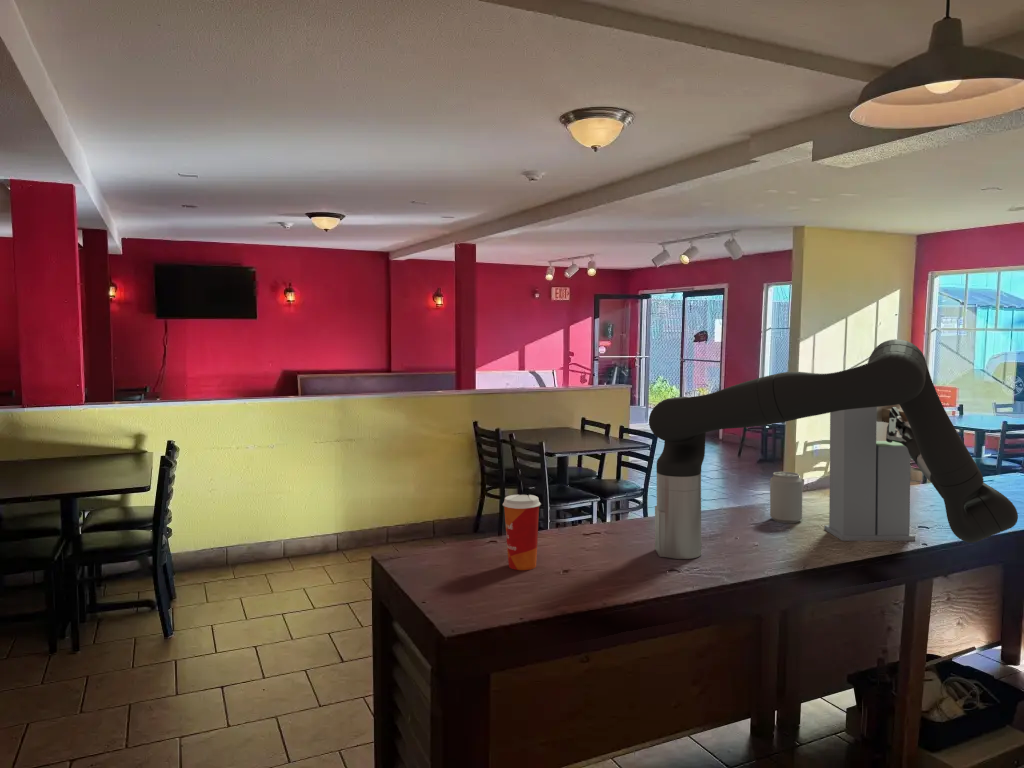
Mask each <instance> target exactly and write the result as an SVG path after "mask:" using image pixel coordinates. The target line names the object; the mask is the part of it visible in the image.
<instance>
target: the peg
mask: <svg viewBox="0 0 1024 768" xmlns="http://www.w3.org/2000/svg"><path fill="white" fill-rule="evenodd" d="M892 407H896V408H897V409H898V411H899V412H900V414H901V415H902V417H903V418H904V419H905V420H906V421H908V420H907V418H906V416H905V414H904V412H903V410H902V408H901V407H900V405H899V404H898V405H891V406H880V407H877V421H876V423H887V424H889V419H890V417H889V413H890V409H891V408H892ZM901 426H902V425H901Z"/></svg>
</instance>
